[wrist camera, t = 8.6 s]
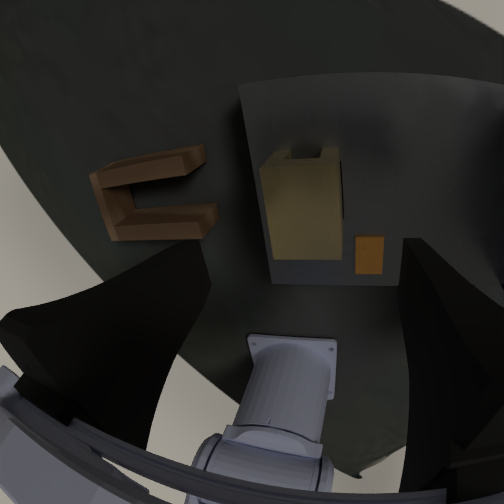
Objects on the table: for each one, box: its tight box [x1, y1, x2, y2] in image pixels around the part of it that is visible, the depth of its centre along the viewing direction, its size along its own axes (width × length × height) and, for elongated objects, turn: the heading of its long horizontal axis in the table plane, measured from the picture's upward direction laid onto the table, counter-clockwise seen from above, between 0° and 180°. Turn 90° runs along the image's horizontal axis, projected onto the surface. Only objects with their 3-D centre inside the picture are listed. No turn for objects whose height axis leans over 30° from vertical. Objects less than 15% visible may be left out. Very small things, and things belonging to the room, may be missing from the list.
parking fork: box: [89, 144, 220, 241], centre depth 20 cm, size 5×8×3 cm
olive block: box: [259, 148, 343, 260], centre depth 15 cm, size 4×3×6 cm
